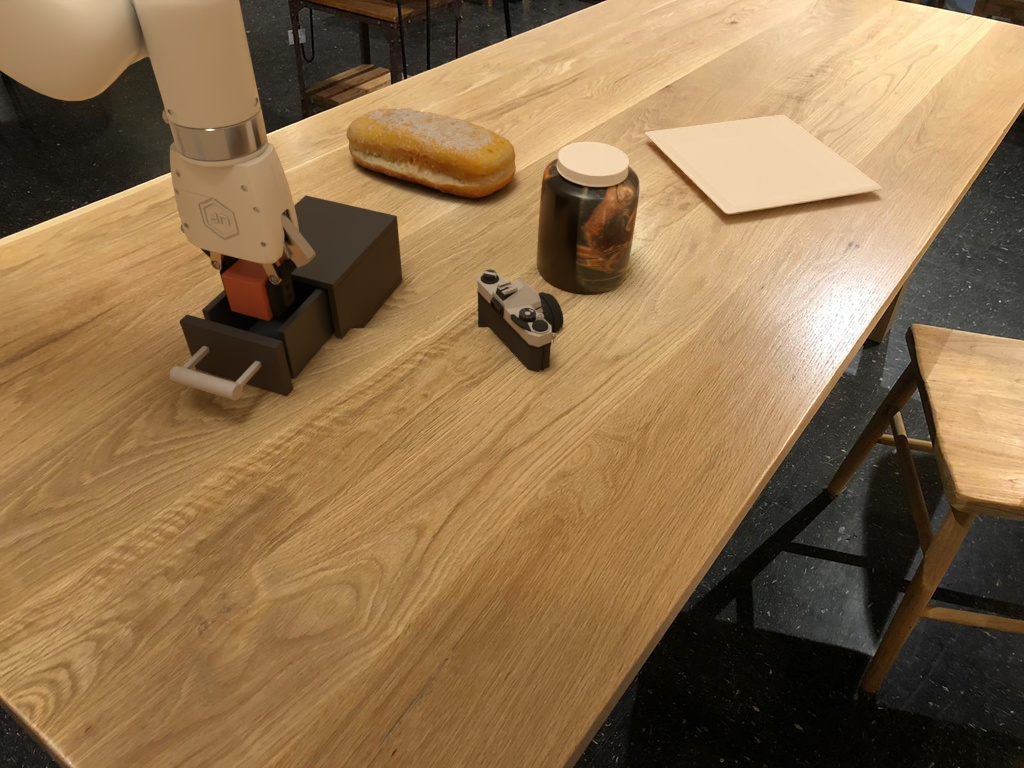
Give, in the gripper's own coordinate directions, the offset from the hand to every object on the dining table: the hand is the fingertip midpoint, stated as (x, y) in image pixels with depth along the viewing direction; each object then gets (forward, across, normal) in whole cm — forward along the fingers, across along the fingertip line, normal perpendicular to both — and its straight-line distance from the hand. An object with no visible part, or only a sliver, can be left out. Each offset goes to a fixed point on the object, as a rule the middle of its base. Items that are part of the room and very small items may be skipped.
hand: (261, 301), depth 77 cm
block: (0, 0, 0) cm, 0 cm away
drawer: (+7, 0, -2) cm, 7 cm away
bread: (+8, -2, +45) cm, 46 cm away
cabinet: (+8, 0, +11) cm, 14 cm away
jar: (+8, +26, +30) cm, 40 cm away
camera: (+8, +24, +13) cm, 29 cm away
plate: (+8, +43, +66) cm, 79 cm away
